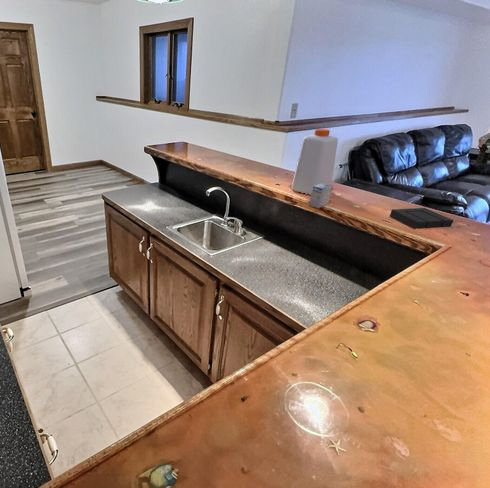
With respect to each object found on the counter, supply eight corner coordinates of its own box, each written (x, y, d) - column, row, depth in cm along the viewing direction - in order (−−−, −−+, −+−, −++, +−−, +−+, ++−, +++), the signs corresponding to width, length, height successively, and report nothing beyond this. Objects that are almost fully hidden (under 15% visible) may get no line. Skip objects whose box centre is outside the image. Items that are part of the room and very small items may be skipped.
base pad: (421, 214, 139) (424, 207, 138) (450, 227, 128) (453, 220, 127) (389, 216, 137) (391, 209, 136) (415, 229, 126) (418, 222, 124)
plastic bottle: (333, 191, 166) (347, 130, 153) (317, 198, 157) (331, 133, 144) (303, 184, 176) (314, 126, 163) (287, 190, 167) (298, 129, 154)
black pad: (418, 218, 136) (420, 210, 135) (440, 228, 127) (443, 220, 126) (404, 218, 135) (407, 211, 134) (425, 229, 127) (428, 221, 125)
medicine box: (318, 201, 152) (322, 182, 148) (328, 204, 149) (332, 185, 145) (308, 205, 148) (313, 185, 144) (318, 208, 144) (323, 188, 141)
